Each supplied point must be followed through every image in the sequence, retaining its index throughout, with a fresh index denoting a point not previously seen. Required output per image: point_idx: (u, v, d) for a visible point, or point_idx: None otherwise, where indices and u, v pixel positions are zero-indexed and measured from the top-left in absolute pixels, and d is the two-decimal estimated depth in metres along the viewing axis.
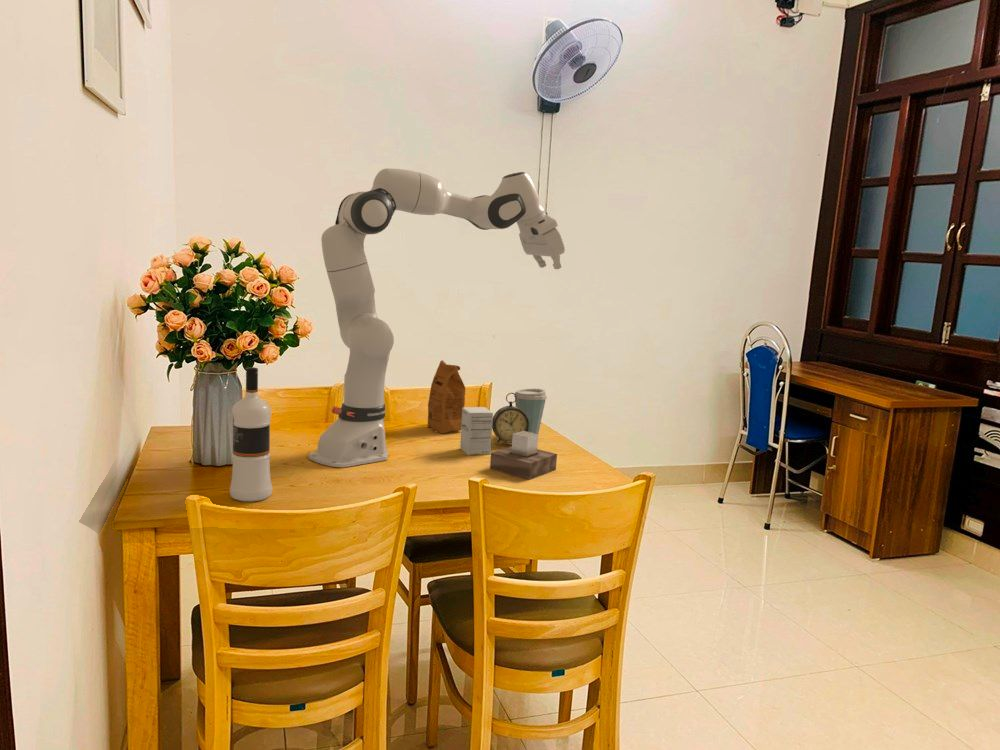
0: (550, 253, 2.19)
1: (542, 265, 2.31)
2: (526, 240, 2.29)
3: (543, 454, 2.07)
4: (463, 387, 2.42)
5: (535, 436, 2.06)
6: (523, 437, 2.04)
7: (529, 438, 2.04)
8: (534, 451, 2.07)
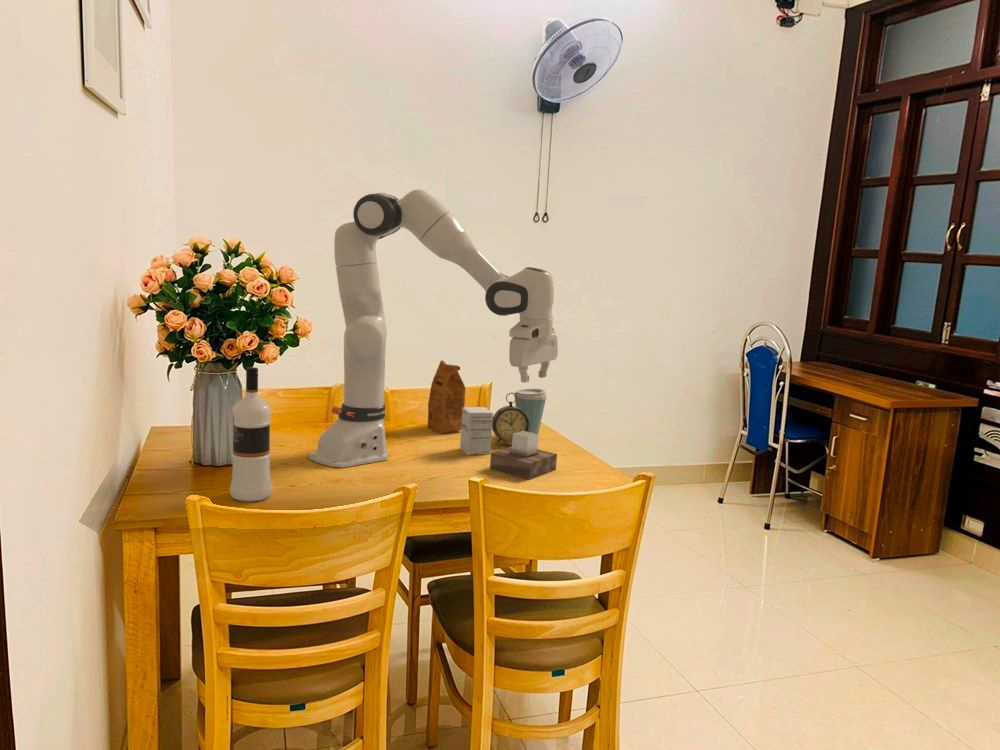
0: None
1: (540, 375, 2.09)
2: None
3: (543, 454, 2.07)
4: (463, 387, 2.42)
5: (535, 436, 2.06)
6: (523, 437, 2.04)
7: (529, 438, 2.04)
8: (534, 451, 2.07)
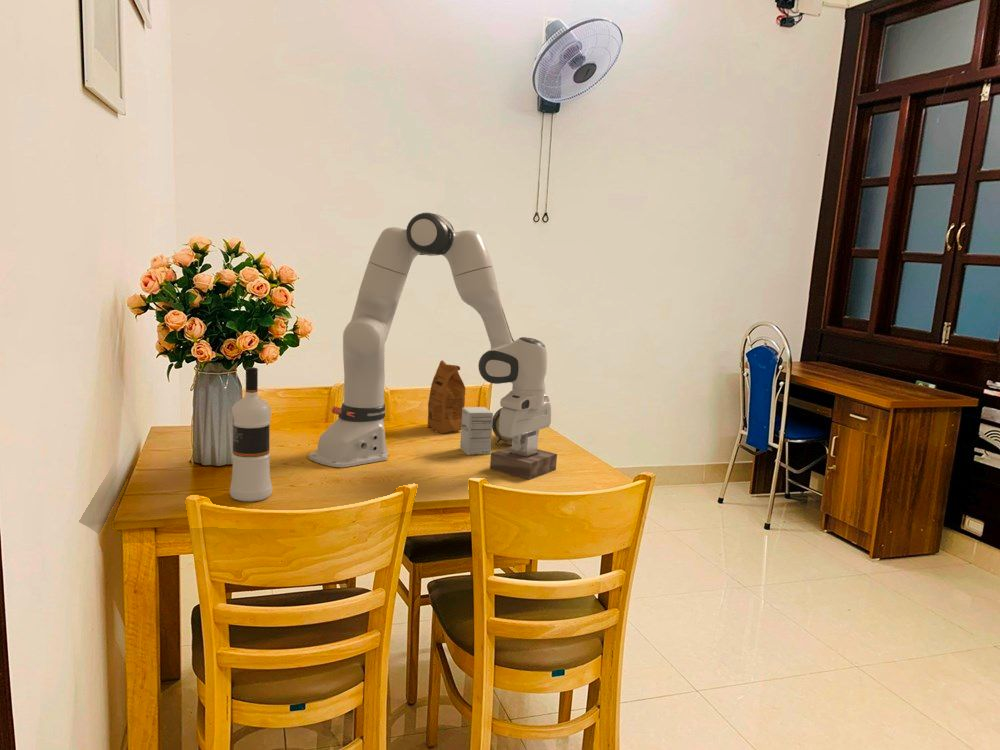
0: None
1: None
2: None
3: (543, 454, 2.07)
4: (463, 387, 2.42)
5: (535, 436, 2.06)
6: (523, 437, 2.04)
7: (529, 438, 2.04)
8: (534, 451, 2.07)
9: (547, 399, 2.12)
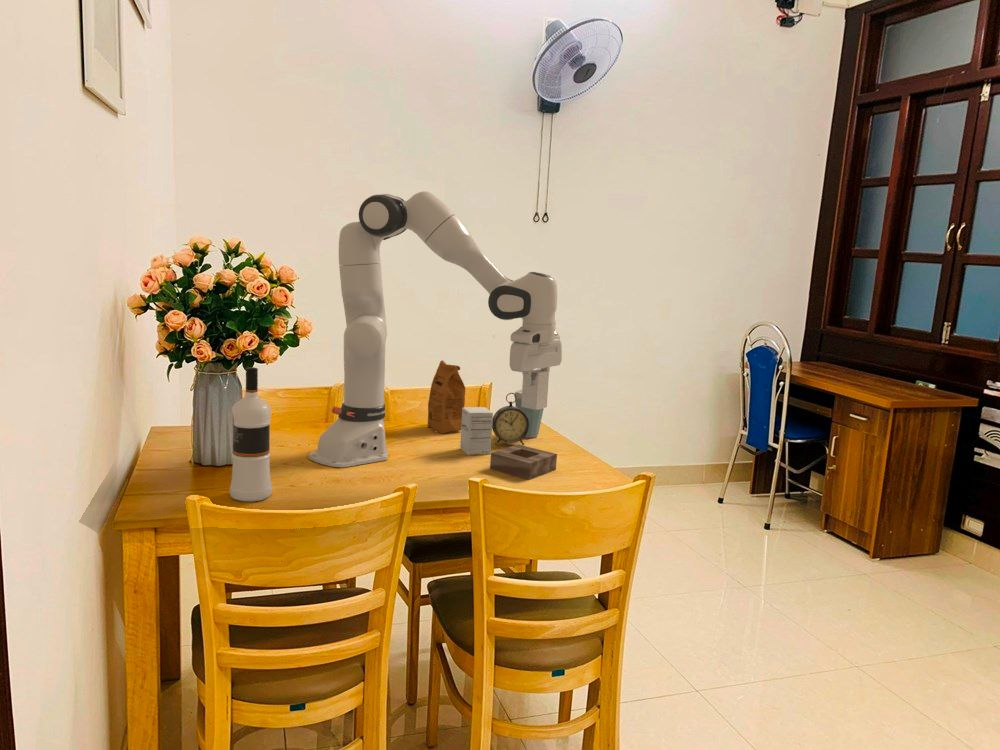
0: None
1: None
2: None
3: (543, 454, 2.07)
4: (463, 387, 2.42)
5: (546, 373, 2.04)
6: (534, 373, 2.02)
7: (540, 374, 2.02)
8: (545, 388, 2.04)
9: (557, 337, 2.10)
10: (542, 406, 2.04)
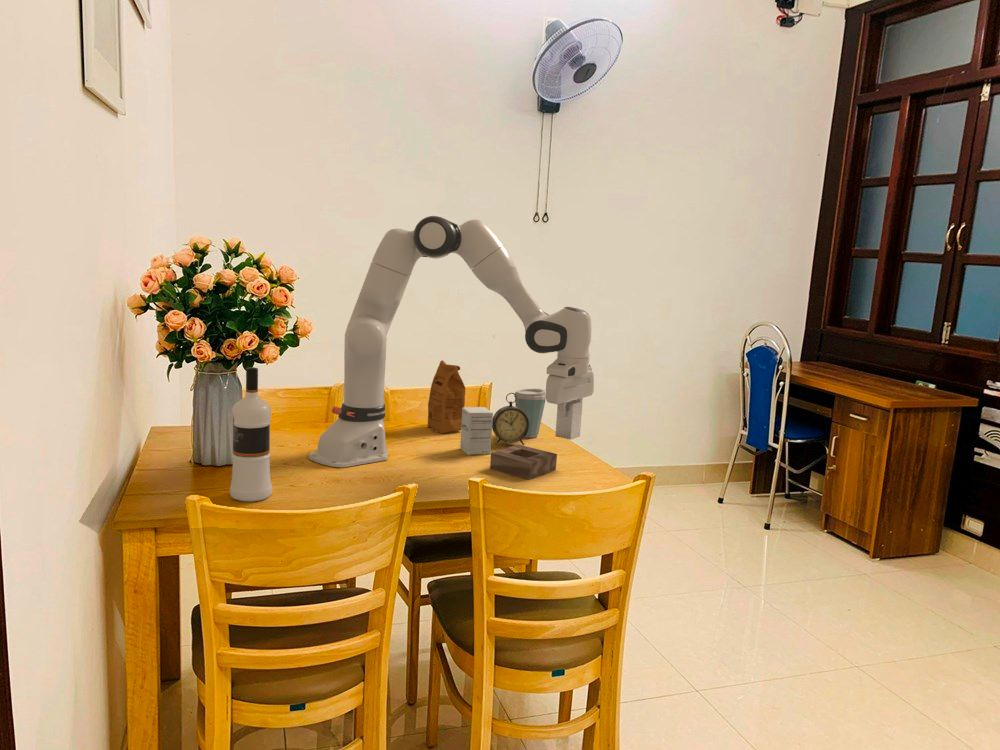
0: None
1: None
2: None
3: (543, 454, 2.07)
4: (463, 387, 2.42)
5: (580, 403, 2.11)
6: (568, 404, 2.09)
7: (575, 405, 2.09)
8: (579, 418, 2.12)
9: (590, 368, 2.17)
10: (576, 436, 2.12)
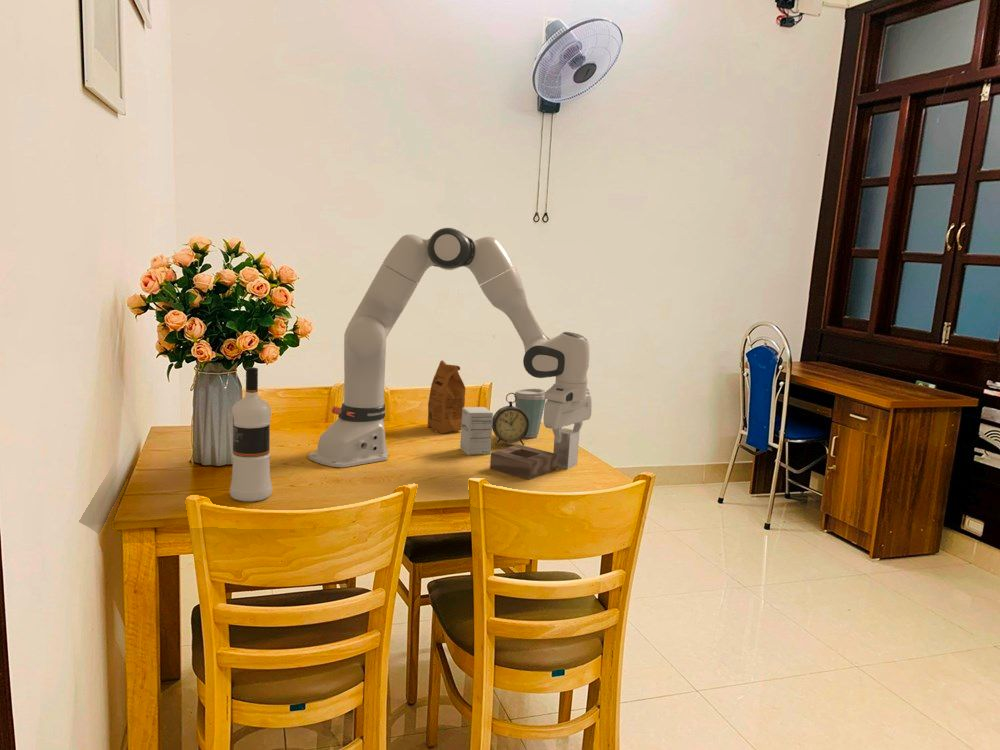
0: None
1: None
2: None
3: (543, 454, 2.07)
4: (463, 387, 2.42)
5: (577, 433, 2.12)
6: (565, 434, 2.10)
7: (572, 435, 2.10)
8: (576, 447, 2.13)
9: (588, 392, 2.18)
10: (572, 465, 2.13)
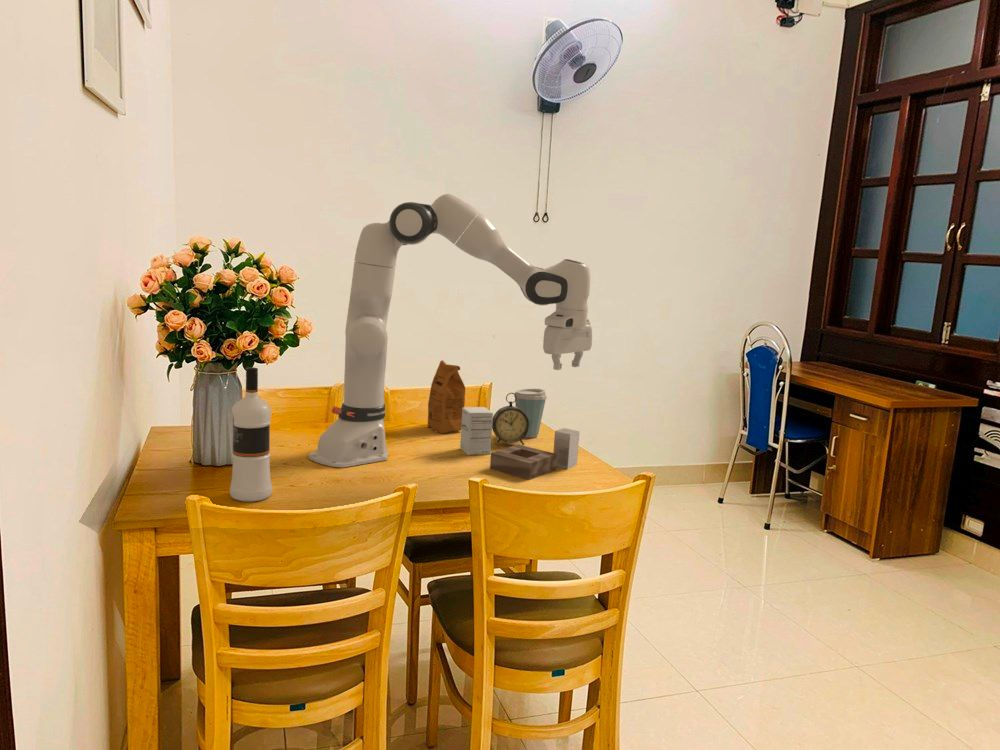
0: None
1: (573, 364, 2.16)
2: None
3: (543, 454, 2.07)
4: (463, 387, 2.42)
5: (577, 433, 2.12)
6: (565, 434, 2.10)
7: (572, 435, 2.10)
8: (576, 447, 2.13)
9: (588, 323, 2.18)
10: (572, 465, 2.13)
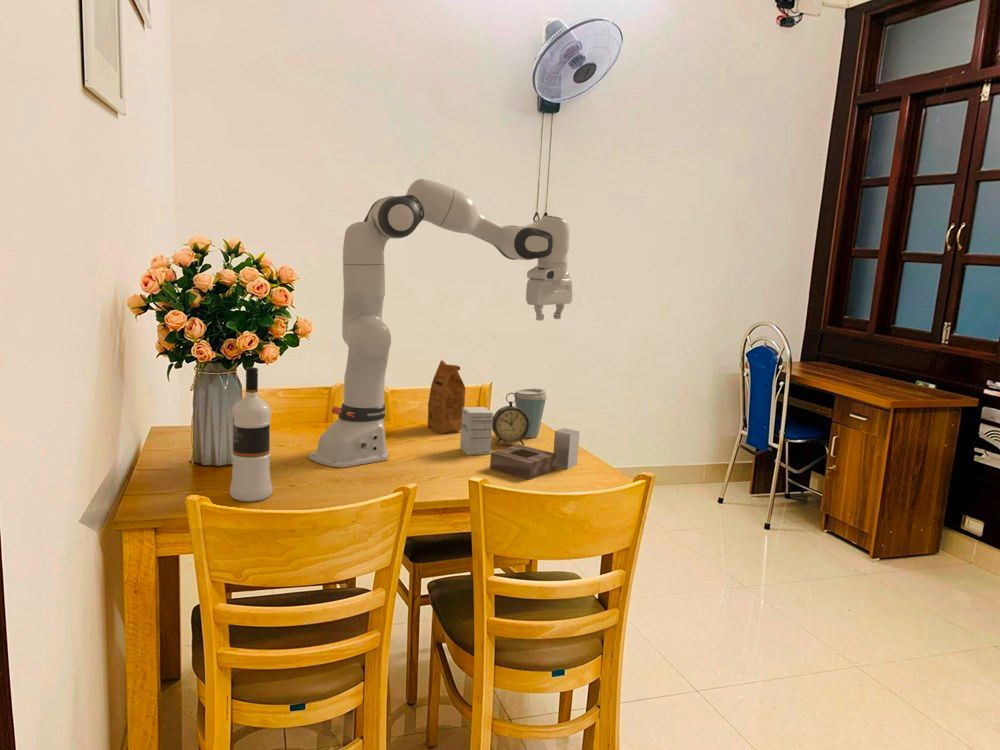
0: None
1: (554, 316, 2.29)
2: None
3: (543, 454, 2.07)
4: (463, 387, 2.42)
5: (577, 433, 2.12)
6: (565, 434, 2.10)
7: (572, 435, 2.10)
8: (576, 447, 2.13)
9: (569, 278, 2.31)
10: (572, 465, 2.13)
